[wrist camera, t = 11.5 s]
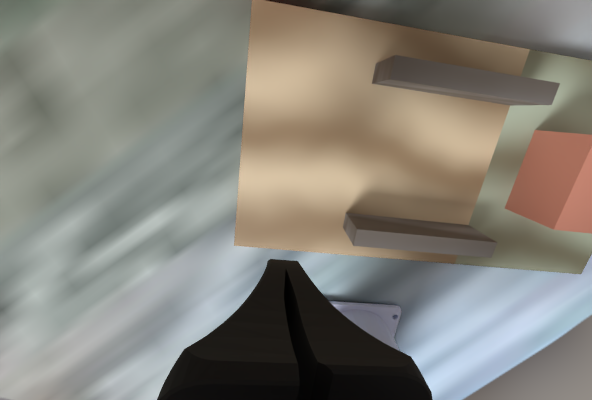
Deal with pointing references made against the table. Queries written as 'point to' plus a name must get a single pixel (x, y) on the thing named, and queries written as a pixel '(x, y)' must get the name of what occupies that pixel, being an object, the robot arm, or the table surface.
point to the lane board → (399, 141)
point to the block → (555, 182)
